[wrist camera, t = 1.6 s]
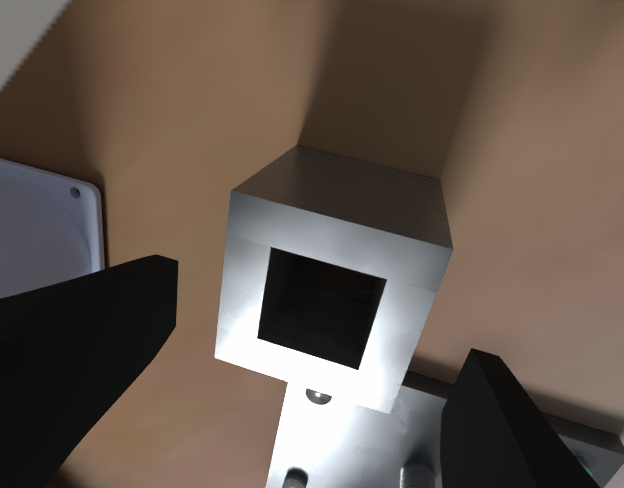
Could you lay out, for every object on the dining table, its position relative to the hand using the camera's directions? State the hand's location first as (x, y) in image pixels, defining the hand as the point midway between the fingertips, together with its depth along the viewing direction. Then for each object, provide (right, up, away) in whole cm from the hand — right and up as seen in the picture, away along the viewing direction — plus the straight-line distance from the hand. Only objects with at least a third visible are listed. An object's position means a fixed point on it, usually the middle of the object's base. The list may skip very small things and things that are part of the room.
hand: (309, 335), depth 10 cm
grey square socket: (+2, +3, +6) cm, 7 cm away
